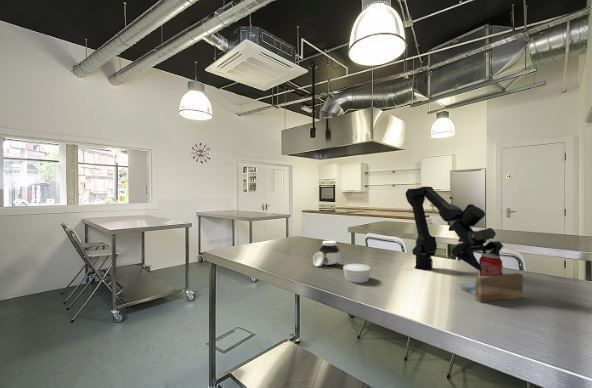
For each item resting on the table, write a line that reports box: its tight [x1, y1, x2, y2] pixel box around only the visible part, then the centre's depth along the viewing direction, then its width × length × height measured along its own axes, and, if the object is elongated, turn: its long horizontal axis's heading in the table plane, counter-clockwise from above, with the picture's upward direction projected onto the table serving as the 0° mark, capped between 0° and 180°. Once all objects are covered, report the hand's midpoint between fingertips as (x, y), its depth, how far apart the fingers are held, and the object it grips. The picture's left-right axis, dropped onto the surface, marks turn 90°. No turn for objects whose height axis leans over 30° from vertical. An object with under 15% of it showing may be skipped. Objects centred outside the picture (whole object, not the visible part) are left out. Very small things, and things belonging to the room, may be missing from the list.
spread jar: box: [312, 240, 341, 268], centre depth 136 cm, size 12×11×12 cm
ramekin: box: [342, 263, 371, 284], centre depth 114 cm, size 11×11×5 cm
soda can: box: [478, 253, 503, 277], centre depth 98 cm, size 7×7×12 cm
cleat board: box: [460, 272, 524, 303], centre depth 99 cm, size 12×18×8 cm, turn 103°
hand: (491, 269), depth 97 cm, fingers open, 9 cm apart
